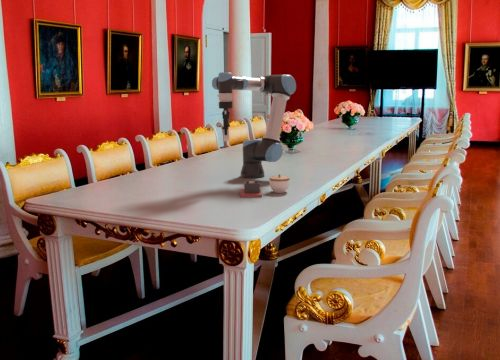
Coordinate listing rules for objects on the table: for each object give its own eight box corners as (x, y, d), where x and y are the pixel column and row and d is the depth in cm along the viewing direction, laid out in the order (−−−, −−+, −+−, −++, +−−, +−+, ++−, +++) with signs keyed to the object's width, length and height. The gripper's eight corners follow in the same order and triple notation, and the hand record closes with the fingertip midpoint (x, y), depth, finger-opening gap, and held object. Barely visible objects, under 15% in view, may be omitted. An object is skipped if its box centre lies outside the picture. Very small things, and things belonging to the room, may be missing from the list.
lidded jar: (273, 194, 276) (272, 176, 274) (266, 190, 286) (266, 173, 285) (292, 193, 279) (292, 175, 277) (285, 189, 289) (285, 172, 287)
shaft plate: (240, 191, 285) (240, 178, 284) (260, 190, 285) (260, 178, 284) (240, 197, 270) (240, 184, 268) (262, 196, 270) (262, 184, 269)
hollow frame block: (259, 190, 281) (259, 180, 280) (259, 192, 274) (259, 183, 273) (244, 190, 281) (244, 180, 280) (244, 193, 274) (244, 183, 273)
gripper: (219, 100, 301) (220, 137, 304) (217, 101, 276) (218, 142, 280) (232, 100, 301) (233, 137, 305) (232, 101, 276) (232, 142, 280)
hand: (226, 139), depth 292 cm, fingers open, 13 cm apart
